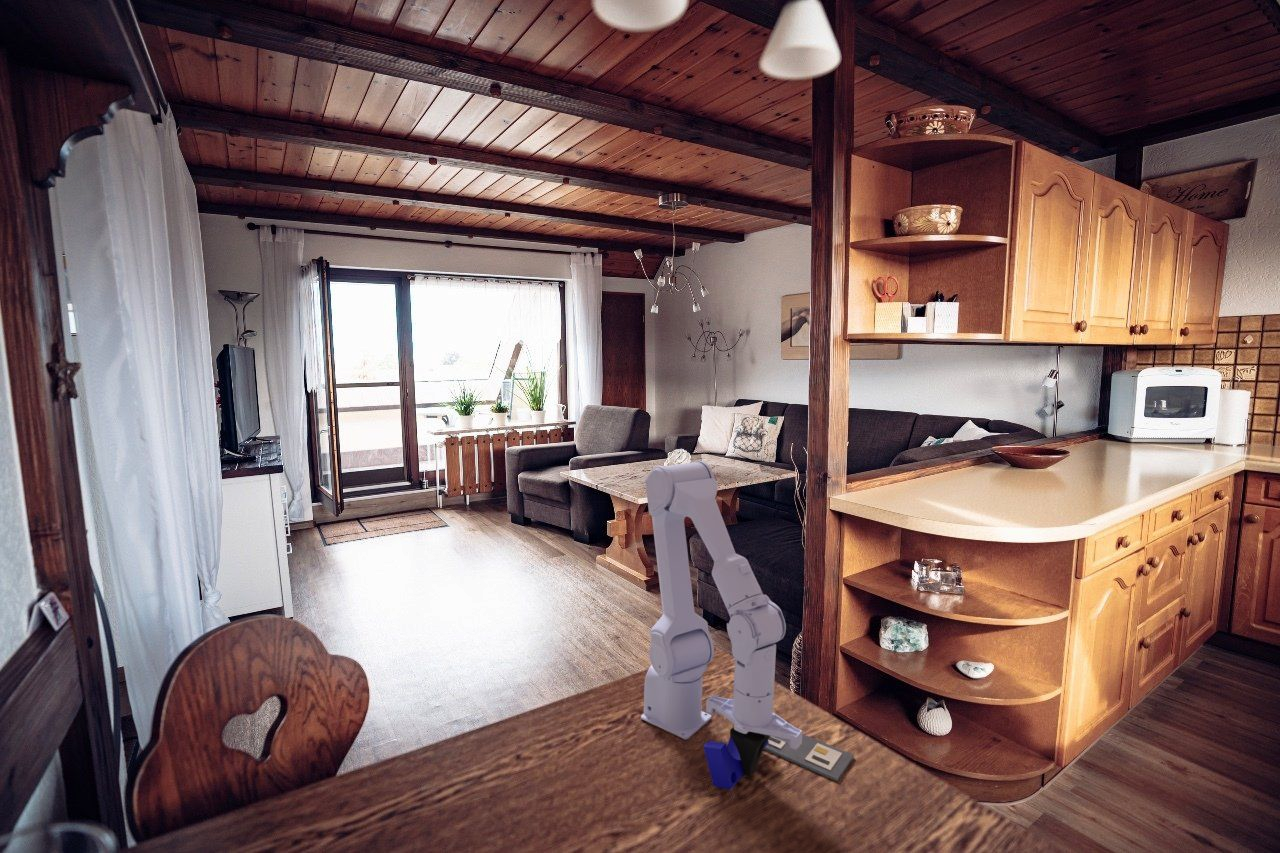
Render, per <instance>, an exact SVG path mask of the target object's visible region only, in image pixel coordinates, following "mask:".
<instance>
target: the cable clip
mask: <svg viewBox="0 0 1280 853" xmlns="http://www.w3.org/2000/svg"><path fill="white" fill-rule="evenodd" d="M768 743H769V741H767V742H766V744H765V746H764V748H765V747H766V746H767V744H768ZM702 747H703V751H704V754H705V758H706V763H707V766H708V770H709V774H710V778H711V781H712V785H713V787H716V788H722V789H726V790H732V789H733V788H734V787H735V786H736V784H737V783H738V782H739V780H741V778H742V777H743V775H744V771H743V767H742V762H741V759H740V755H739V752H738V750H737V747H736V745H735V743H734V741H733V740H732V738H731V737H730V736H729V740H728V743H725V742H720V741H714V740H713V741H712V740H708V741H707V742H706V743H705V744H704V745H703V746H702ZM764 748H763V749H764ZM763 751H764V750H762V752H763Z"/></svg>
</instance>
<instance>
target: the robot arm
mask: <svg viewBox="0 0 1280 853" xmlns="http://www.w3.org/2000/svg"><path fill="white" fill-rule="evenodd" d="M644 482H645V490H646V498H647V507H648V514H649V516H651V519H652V520H651V521H652V529H653V538H654V539H653V540H654V546H655V556H656V563H657V564H656V565H657V572H658V582H659V589H660V590H659V591H660V599H661V601H660V602H661V608H662V615H661V617H660V618H659V619H658V620H657V621H656V623H655V624H654V625H653V626H652V627H651V628H650V631H649V632H650V645H649V650H648V651H649V653H648V654H649V661H650V664H651V665H650V666H649V668H648V670H647V672H646V674H645V677H644V683H643V684H644V687H643V689H644V690H643V713H642V714H641V715H640V719H641V720H643V721H646V722H647V723H648V724H651V725H653V726H656V727H658V728H660V729H662V730H663V731H666V732H668V733H669V734H673V735H675V736H677V737H679V738H681V739H683V740H689V739H690V738H691V737H692V736H693V735H694V734H695V733H697V732H698V731H699V730H700V729H701V728H702V727H704V725H705V724H707V723H708V722H709V721H710V720H712V714H713V715H714V713H716V714H717V715H719V716H722V717H725V719H727V720H728V721H730V723H732V724H733V726H732V728H730V731H729V738H730V737H731V738H732V740H733V741H734V743H735V745H736V747H737V750H738V752H739V755H740V759H741V762H742V767H743V771H744V774H743V775H744V776H746V777H747V778H752V776H753V775H755V773H756V771H757V769H758V764H759V761H760V758H761V755H762V753H763V751H764V750H763V748H764V746H765V744H766V742H767V741H768V739H769V737H770V736H772V737H774V738H776V739H779V740H781V741H784V742H786V743H788V744H789V746H790V748H793V749H795V750H796V749H797V748H798V747H799V746H800V745H801V743H802V734H803V730H802V729H800V728H797V727H796V726H793V725H792V724H791V723H789V722H787V721H786V720H785V719H783V717H781V716H779V715H778V714H776V712H774V698H775V697H774V694H775V678H776V676H775V674H776V672H775V671H776V657H777V656H776V654H777V644H776V643H778V642H779V641H781V640H783V639H784V637H785V635H786V630H787V624H786V620H785V617H784V615H783V612H782V609H781V607H780V606H778V605H777V604H776V603H775V602H773V601H772V600H771V599H770V597H769V596H768V595H767V594H764V592H763V591H762V588H761V586H760V584H759V582H758V580H757V578H756V576H755V574H754V571H753V569H752V567H751V565H750V563H749V561H748V559H747V558H746V557H744V556H742V555H740V554H738V553H736V551H735V548H734V546H733V543H732V541H731V536H730V534H729V532H728V529H727V527H726V524H725V521H724V519H723V516H722V514H721V511H720V507H719V505H718V503H717V500H716V496H717V493H718V484H719V483H718V482H717V481H716V479H715V475H714V472H713V470H712V468H711V466H710V465H709V464H708V463H707V462H705V461H702V460H698V461H695V462H690V463H689V462H688V463H678V464H672V465H671V464H670V465H656V466H654V467H653V468H652V469H651V470H650V471H649V474H648V475H647V477H646V479H645V481H644ZM686 517H687V518H690V520H691V521H692V523H693V525H694V527H695V529H696V531H697V532H698V534H699V536H700V538H701V541H702V542H703V544H704V545H705V547H706V549H707V551H708V553H709V555H710V556H711V559H712V560H713V566H712V570H711V576H712V578H713V581H714V583H715V585H716V587H717V589H718V592H719V594H720V597H721V598H722V602H723V604H724V607H725V608H726V611H727V613H728V616H729V617H730V619H729V622H727V623H726V630H727V634H728V637H729V640H730V643H731V654H732V657H733V658H734V668H733V670H734V671H733V672H734V675H733V696H732V698H728V697H727V698H726V697H721V696H718V695H715V694H712V695H710V697H708V698H707V699H706V702H705V711H703V710H702V704H703V679H704V678H703V676H704V673H705V672H707V665H708V664H710V663H711V662H712V661H713V660H714V655H715V645H714V641H713V639H712V636H711V634H710V631H709V627H708V626H709V625H708V624H709V623H708V621H707V620H706V619H704V618H703V617H702V616H700V615H698V614H697V613H696V612H695V606H694V605H695V603H694V597H693V588H692V579H691V570H690V563H689V561H690V560H689V553H688V543H687V535H686V527H685V526H686V525H685V518H686ZM762 750H763V751H762Z"/></svg>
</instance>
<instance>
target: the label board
mask: <svg viewBox="0 0 1280 853" xmlns="http://www.w3.org/2000/svg"><path fill="white" fill-rule="evenodd" d="M768 741H769V743H768V744H767V746H766V747H765V748H764V749H763V751H766V752H768V753H771V754H773V755H775V756H777V757H779V758H781V759H784V760H786V761H789V762H790V763H793V764H795V765H798V766H799V767H802V768H804V769H806V770H808V771H811V772H813V773H816V774H818V775H821V776H823V777H825V778H827V779H829V780H831V781H834V782H835V783H838V782H839V781H840V779H841V778H842V776H843V775H844V773H845V772H846V770H847V769H848V767H849V766H850V764H851V762H852V761H853V760H854V757H855V755H854V754H853V753H850V752H848V751H846V750H843V749H841V748H838V747H836V746H833V745H830V744H828V743H825V742H824V741H820V740H819V739H816V738H813V737H811V736H809V735H806V734H804V733H802V743H801V745H800V746H799V747H798V748H797V749H796V750H795V749H793V748H790V746H789V744H788V743H786V742H784V741H781V740H779V739H776V738H774V737H772V736H770V737H769V739H768Z"/></svg>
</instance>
